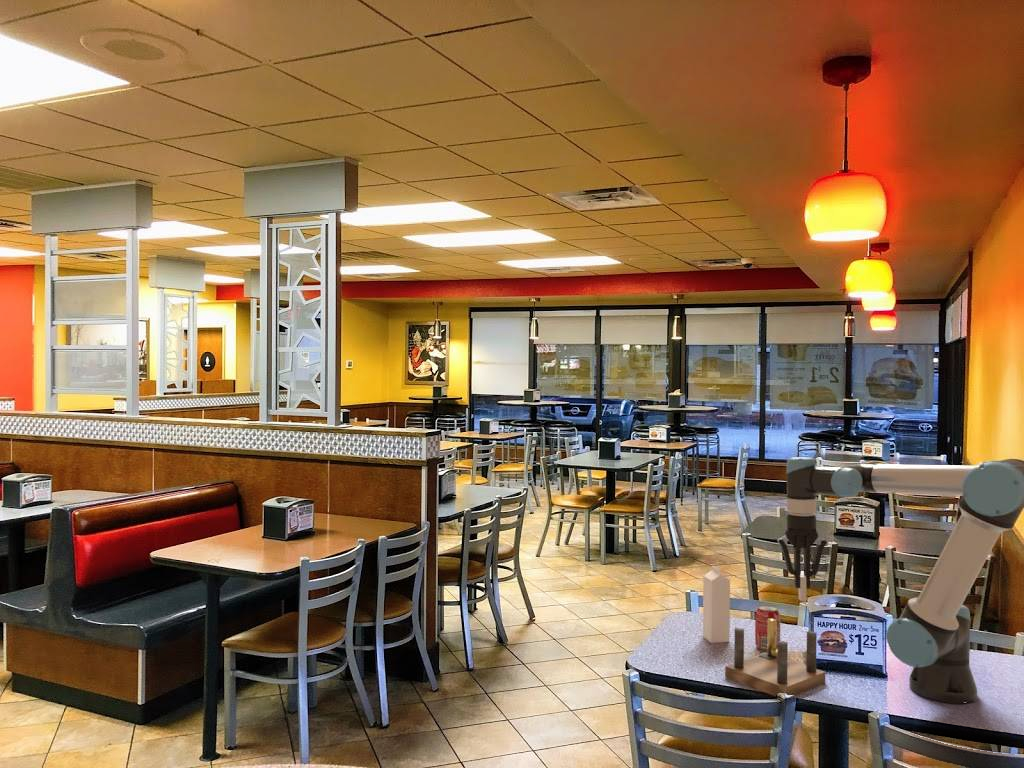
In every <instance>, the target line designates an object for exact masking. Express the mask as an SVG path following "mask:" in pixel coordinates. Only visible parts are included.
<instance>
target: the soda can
mask: <svg viewBox="0 0 1024 768" xmlns="http://www.w3.org/2000/svg"><path fill="white" fill-rule="evenodd" d="M769 618H772V619H776V620H777V642H776V649H778V641H781V614H780V612H779V608H778V607H777V606H775V605H771V604H760V605H758V606H757V610H756V611H755V618H754V620H755V621H754V622H755V623H754V636H755V637H754V640H755V641H754V642H755V646H756V647H757V648H759V649H760V650H761V649H762V651H765V650H767V627H768V619H769Z"/></svg>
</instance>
